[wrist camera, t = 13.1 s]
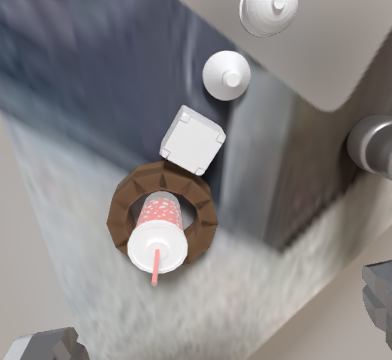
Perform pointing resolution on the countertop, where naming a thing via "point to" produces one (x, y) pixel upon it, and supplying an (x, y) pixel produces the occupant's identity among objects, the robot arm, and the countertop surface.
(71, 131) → the countertop surface
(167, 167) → the walnut ring
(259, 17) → the container set
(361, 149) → the plastic bottle
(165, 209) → the beverage cup
